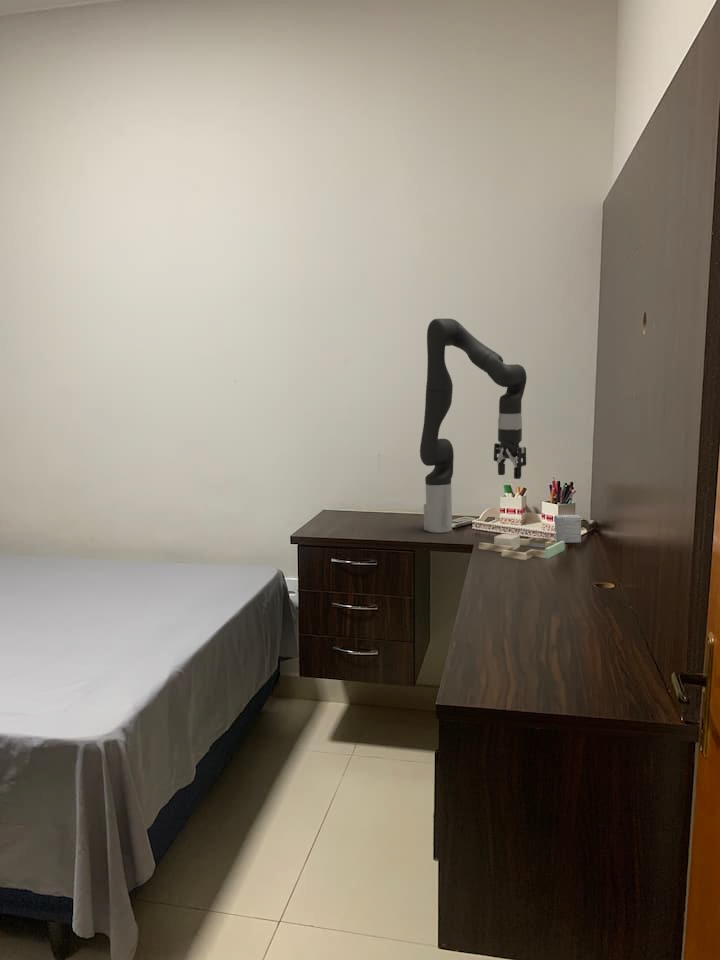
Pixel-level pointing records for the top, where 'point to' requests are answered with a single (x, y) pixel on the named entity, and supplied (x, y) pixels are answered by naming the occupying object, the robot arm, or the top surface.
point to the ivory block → (508, 540)
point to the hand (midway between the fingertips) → (509, 476)
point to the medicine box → (568, 528)
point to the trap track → (539, 542)
